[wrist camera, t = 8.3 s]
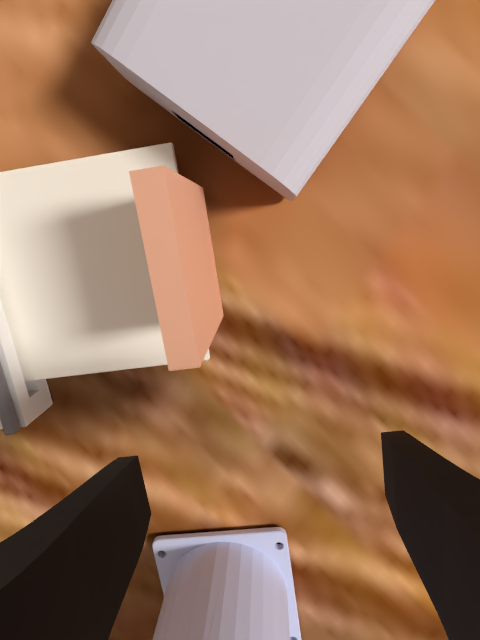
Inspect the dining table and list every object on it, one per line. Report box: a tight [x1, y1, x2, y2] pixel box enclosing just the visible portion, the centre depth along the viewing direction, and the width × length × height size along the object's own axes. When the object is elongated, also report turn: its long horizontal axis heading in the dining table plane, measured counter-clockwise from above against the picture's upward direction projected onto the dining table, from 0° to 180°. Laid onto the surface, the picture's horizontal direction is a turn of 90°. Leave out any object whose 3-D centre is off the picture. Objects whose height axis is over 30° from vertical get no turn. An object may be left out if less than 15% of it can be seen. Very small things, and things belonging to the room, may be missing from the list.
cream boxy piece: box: [0, 142, 223, 381], centre depth 15 cm, size 12×10×7 cm
